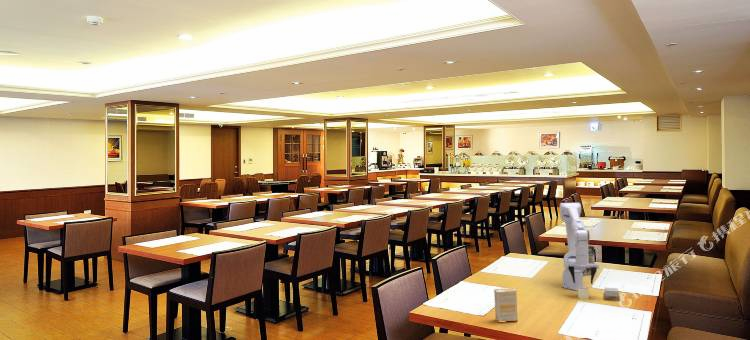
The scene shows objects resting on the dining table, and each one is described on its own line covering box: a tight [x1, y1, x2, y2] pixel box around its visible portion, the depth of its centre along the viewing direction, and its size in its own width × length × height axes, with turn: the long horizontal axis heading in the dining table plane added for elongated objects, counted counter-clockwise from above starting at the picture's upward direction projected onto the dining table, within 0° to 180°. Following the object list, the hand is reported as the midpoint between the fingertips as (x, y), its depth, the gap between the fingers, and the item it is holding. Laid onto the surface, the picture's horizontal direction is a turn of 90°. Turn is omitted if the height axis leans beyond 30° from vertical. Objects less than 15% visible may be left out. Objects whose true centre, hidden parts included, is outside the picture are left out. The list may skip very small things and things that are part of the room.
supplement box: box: [493, 287, 518, 322], centre depth 204 cm, size 8×5×13 cm, turn 92°
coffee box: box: [583, 244, 596, 276], centre depth 279 cm, size 9×6×16 cm
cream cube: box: [577, 286, 589, 300], centre depth 234 cm, size 4×4×4 cm
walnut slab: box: [603, 291, 621, 302], centre depth 230 cm, size 6×6×2 cm
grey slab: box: [604, 287, 620, 297], centre depth 230 cm, size 6×6×2 cm
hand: (582, 283), depth 234 cm, fingers open, 7 cm apart
